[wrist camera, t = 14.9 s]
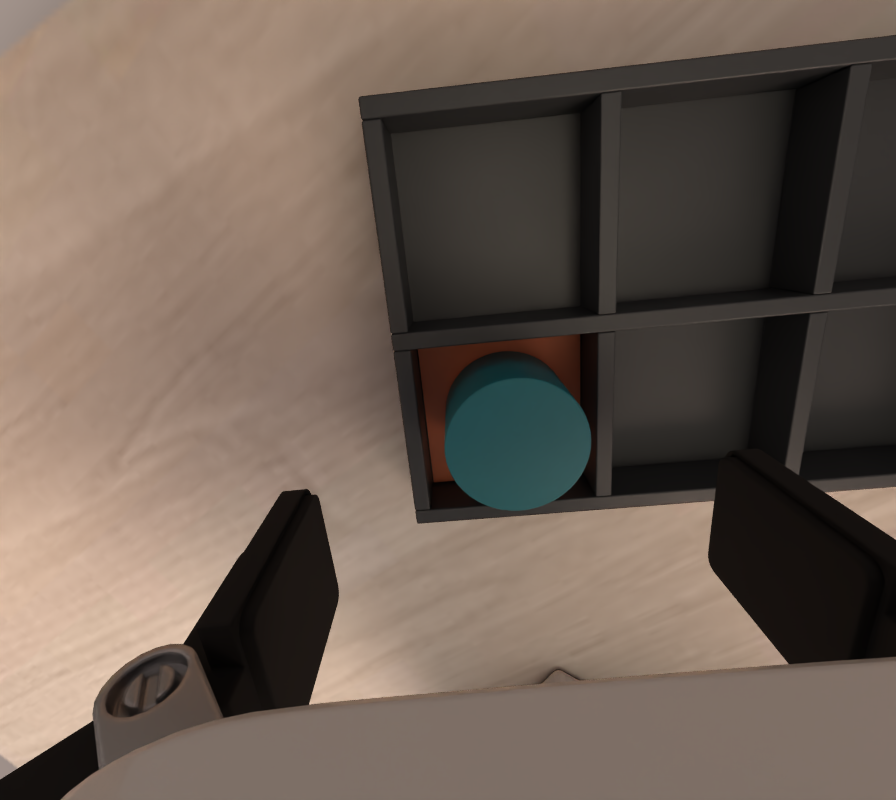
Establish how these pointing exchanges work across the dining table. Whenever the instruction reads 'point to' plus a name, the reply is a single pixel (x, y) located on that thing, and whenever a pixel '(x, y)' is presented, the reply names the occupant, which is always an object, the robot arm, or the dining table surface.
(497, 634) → the dining table surface
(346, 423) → the dining table surface
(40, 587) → the dining table surface
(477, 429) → the cylinder
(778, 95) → the grid
